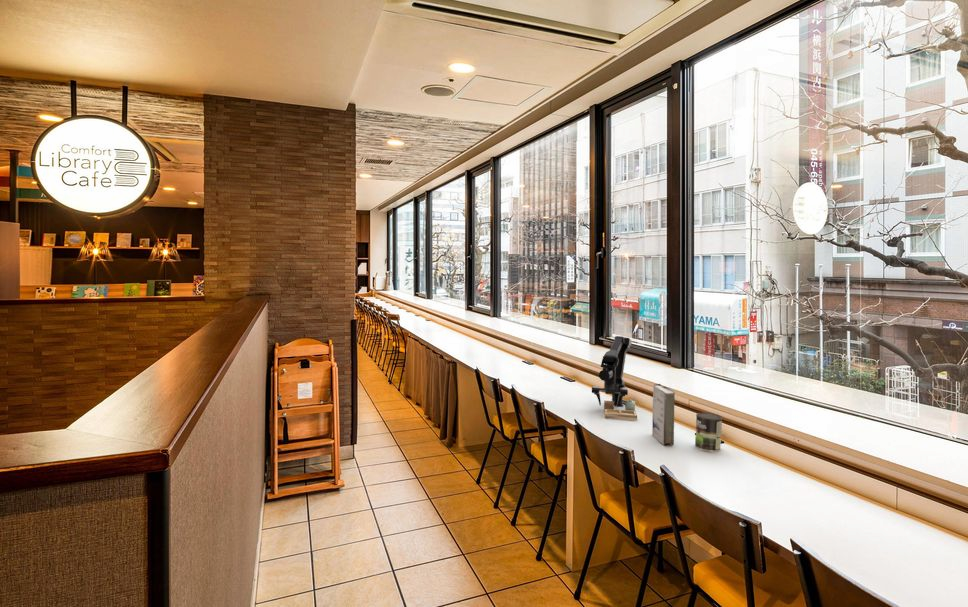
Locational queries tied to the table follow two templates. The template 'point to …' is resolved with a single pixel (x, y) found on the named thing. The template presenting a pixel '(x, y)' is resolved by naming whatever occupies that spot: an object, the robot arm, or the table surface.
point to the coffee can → (708, 432)
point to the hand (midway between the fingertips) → (609, 406)
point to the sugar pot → (630, 405)
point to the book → (663, 414)
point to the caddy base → (620, 414)
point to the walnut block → (608, 404)
